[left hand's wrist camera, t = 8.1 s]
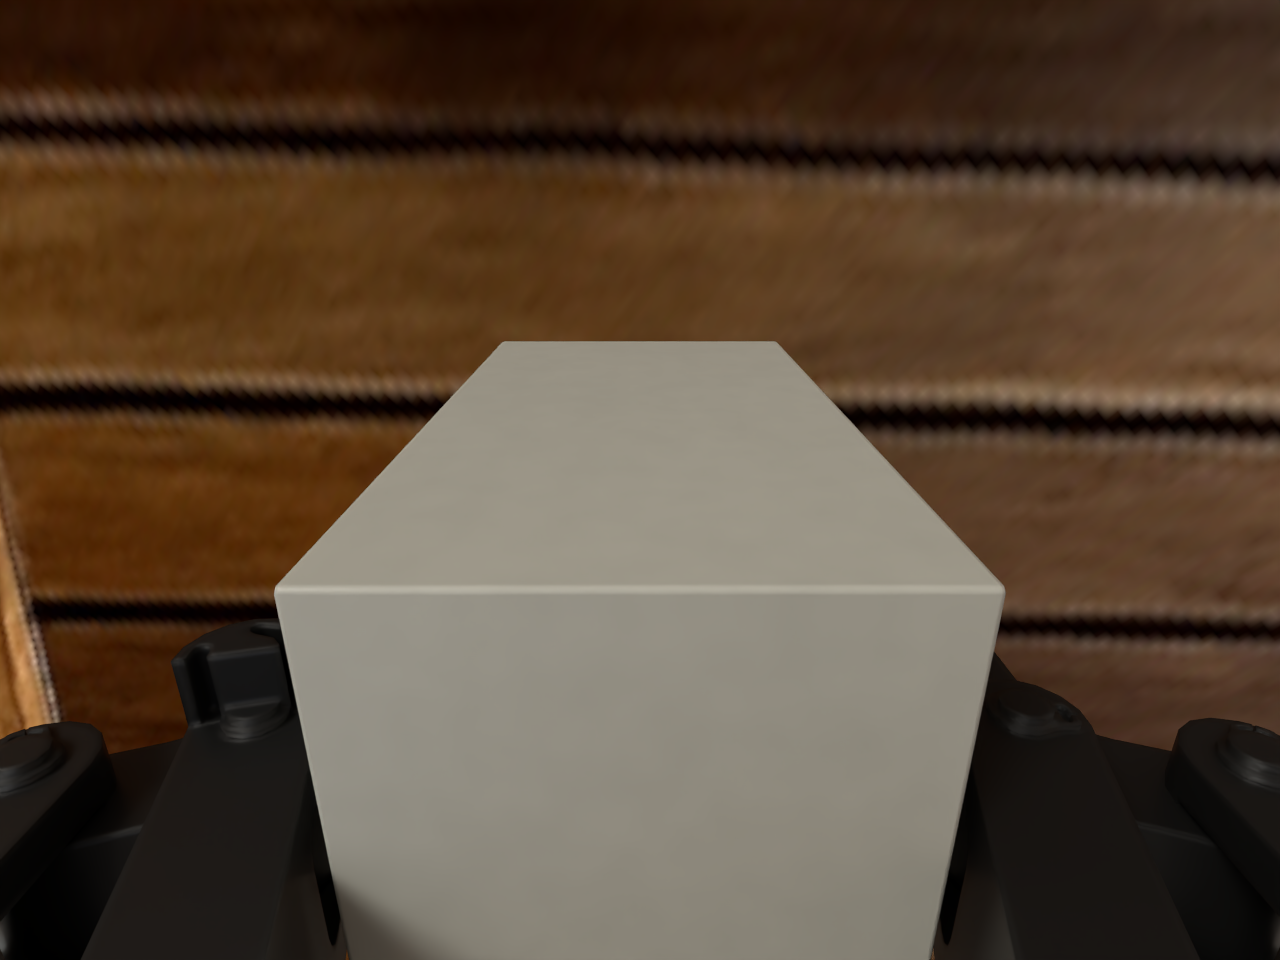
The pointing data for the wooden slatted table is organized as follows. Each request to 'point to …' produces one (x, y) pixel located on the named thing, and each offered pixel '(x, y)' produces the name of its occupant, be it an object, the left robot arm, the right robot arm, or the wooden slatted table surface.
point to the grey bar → (639, 671)
